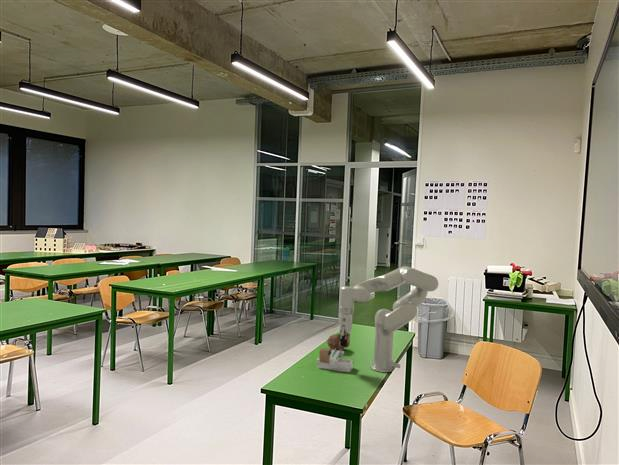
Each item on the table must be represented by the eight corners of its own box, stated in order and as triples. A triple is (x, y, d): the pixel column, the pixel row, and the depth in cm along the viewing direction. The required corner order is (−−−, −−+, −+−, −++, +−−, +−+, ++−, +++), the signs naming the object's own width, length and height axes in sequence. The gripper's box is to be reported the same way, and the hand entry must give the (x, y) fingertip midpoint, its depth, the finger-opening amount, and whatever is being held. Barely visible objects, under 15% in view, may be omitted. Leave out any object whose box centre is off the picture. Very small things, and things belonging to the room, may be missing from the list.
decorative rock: (342, 354, 254) (343, 337, 254) (323, 351, 258) (324, 334, 258) (348, 348, 267) (349, 332, 266) (331, 345, 271) (331, 329, 270)
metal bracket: (323, 344, 253) (348, 348, 248) (323, 353, 254) (348, 357, 249) (315, 358, 240) (341, 362, 235) (315, 367, 242) (342, 372, 237)
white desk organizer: (352, 367, 232) (353, 350, 232) (349, 372, 224) (350, 355, 224) (321, 363, 237) (322, 346, 237) (317, 367, 229) (318, 350, 229)
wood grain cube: (349, 345, 231) (350, 334, 230) (347, 347, 226) (348, 336, 226) (339, 344, 232) (340, 332, 232) (337, 346, 228) (338, 334, 227)
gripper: (350, 314, 219) (348, 350, 220) (356, 308, 235) (354, 341, 236) (335, 312, 221) (333, 348, 222) (342, 306, 238) (341, 340, 238)
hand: (344, 344), depth 229 cm, fingers closed on wood grain cube, 4 cm apart
